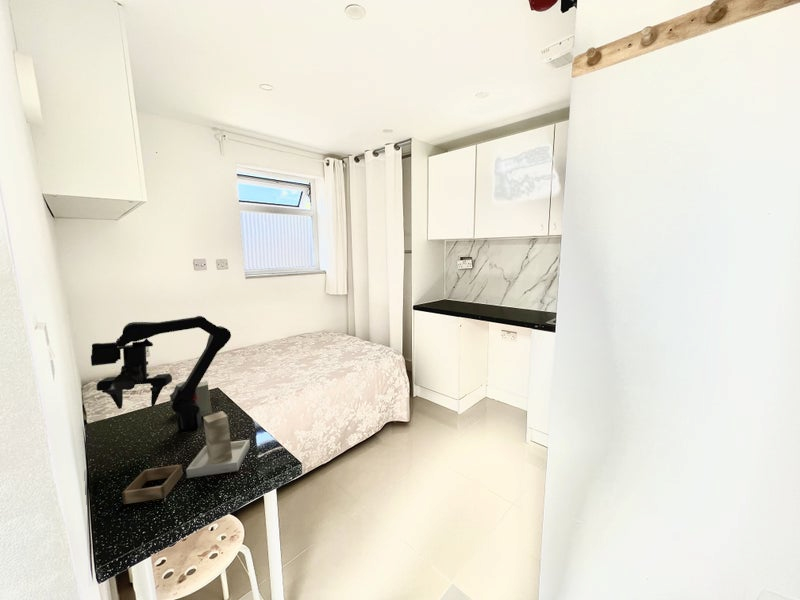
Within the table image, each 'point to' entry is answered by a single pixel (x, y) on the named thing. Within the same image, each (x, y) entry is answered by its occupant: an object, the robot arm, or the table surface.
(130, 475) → the table surface
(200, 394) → the skincare box
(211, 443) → the maple block
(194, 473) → the white tray
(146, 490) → the oak collar
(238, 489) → the table surface
